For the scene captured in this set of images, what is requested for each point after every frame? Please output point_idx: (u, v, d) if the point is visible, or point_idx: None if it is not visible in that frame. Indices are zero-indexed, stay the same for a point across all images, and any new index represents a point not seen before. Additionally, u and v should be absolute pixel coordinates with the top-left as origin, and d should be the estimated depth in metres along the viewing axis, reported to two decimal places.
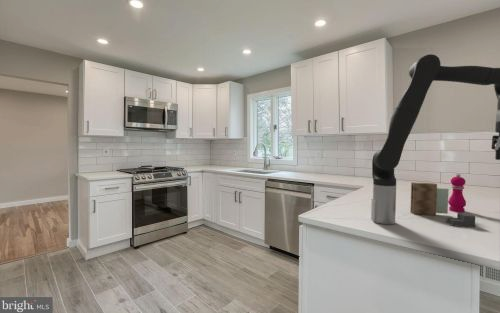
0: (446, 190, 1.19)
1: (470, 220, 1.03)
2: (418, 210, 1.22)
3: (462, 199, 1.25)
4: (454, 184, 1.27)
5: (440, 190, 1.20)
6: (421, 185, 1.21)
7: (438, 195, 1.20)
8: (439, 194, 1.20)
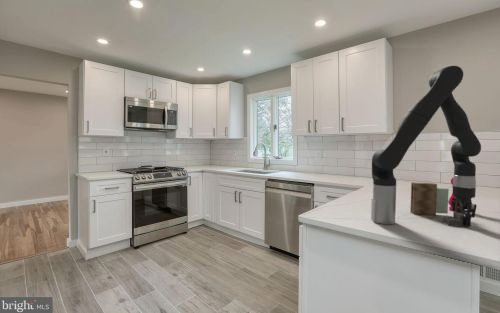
0: (446, 190, 1.19)
1: None
2: (418, 210, 1.22)
3: None
4: None
5: (440, 190, 1.20)
6: (421, 185, 1.21)
7: (438, 195, 1.20)
8: (439, 194, 1.20)
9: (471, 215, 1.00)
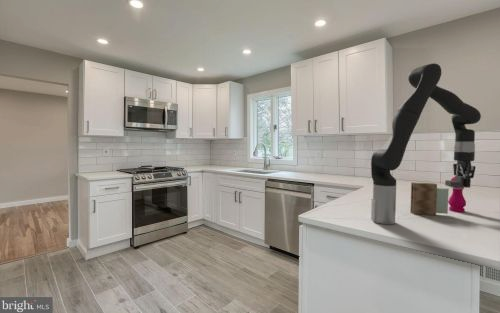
0: (446, 190, 1.19)
1: None
2: (418, 210, 1.22)
3: (462, 199, 1.25)
4: None
5: (440, 190, 1.20)
6: (421, 185, 1.21)
7: (438, 195, 1.20)
8: (439, 194, 1.20)
9: (470, 176, 1.12)
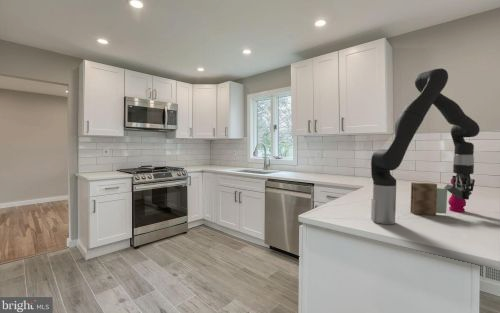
0: (445, 190, 1.19)
1: None
2: (418, 210, 1.22)
3: None
4: None
5: (439, 190, 1.20)
6: (421, 185, 1.21)
7: (437, 195, 1.20)
8: (438, 194, 1.20)
9: (470, 189, 1.13)
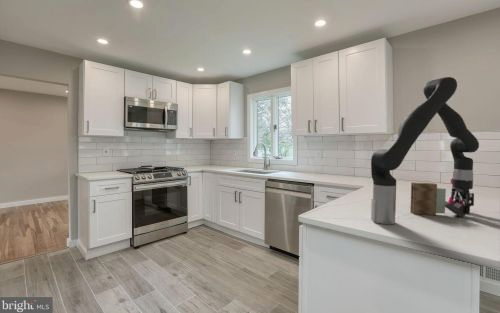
0: (443, 190, 1.20)
1: None
2: (418, 210, 1.22)
3: None
4: None
5: (437, 190, 1.20)
6: (421, 185, 1.21)
7: None
8: (437, 194, 1.20)
9: (471, 204, 1.12)
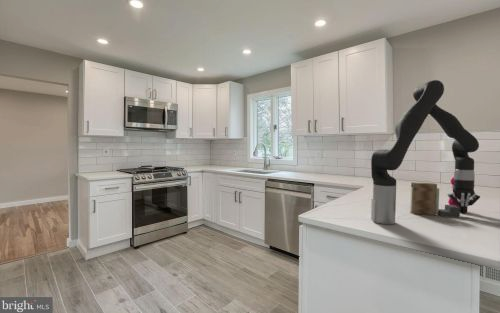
0: (437, 190, 1.20)
1: (455, 211, 1.17)
2: (418, 210, 1.22)
3: None
4: None
5: None
6: (421, 185, 1.21)
7: None
8: None
9: None
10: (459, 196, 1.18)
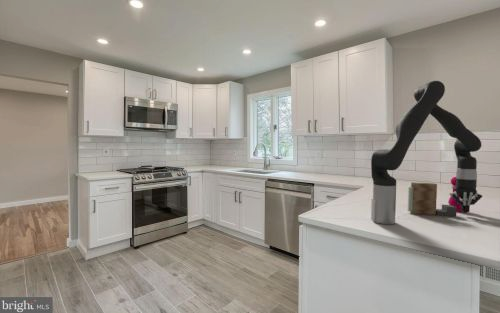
0: None
1: (452, 211, 1.18)
2: (418, 210, 1.22)
3: None
4: (454, 184, 1.27)
5: None
6: (421, 185, 1.21)
7: None
8: None
9: None
10: (461, 195, 1.18)
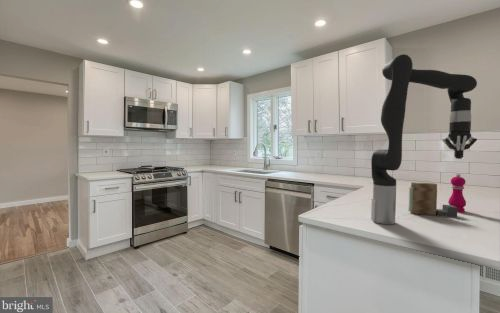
0: None
1: (453, 211, 1.17)
2: (418, 210, 1.22)
3: (462, 199, 1.25)
4: (454, 184, 1.27)
5: None
6: (421, 185, 1.21)
7: None
8: None
9: None
10: (455, 140, 1.11)
